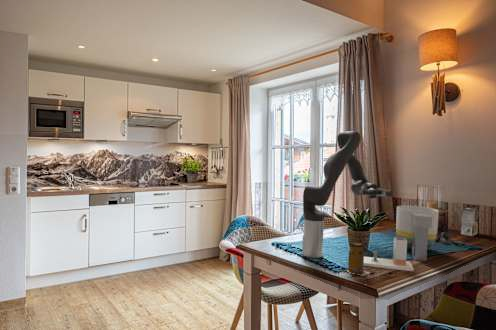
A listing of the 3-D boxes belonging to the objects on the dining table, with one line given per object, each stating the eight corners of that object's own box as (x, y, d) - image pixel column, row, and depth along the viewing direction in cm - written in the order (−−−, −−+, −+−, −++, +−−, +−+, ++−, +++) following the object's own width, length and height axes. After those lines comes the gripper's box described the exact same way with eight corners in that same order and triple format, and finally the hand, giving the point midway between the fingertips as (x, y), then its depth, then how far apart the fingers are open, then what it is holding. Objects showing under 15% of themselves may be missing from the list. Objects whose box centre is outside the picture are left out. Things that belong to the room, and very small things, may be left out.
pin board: (363, 265, 152) (364, 254, 152) (362, 258, 162) (363, 247, 162) (413, 271, 147) (414, 259, 147) (409, 264, 157) (409, 252, 156)
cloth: (415, 239, 203) (416, 229, 203) (438, 237, 210) (439, 227, 210) (450, 250, 183) (451, 239, 182) (474, 247, 189) (475, 236, 189)
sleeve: (394, 264, 151) (395, 239, 151) (392, 261, 156) (393, 237, 155) (405, 265, 150) (407, 240, 150) (403, 262, 155) (405, 238, 154)
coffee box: (466, 232, 224) (467, 207, 223) (477, 234, 219) (479, 209, 218) (460, 234, 218) (462, 208, 217) (472, 236, 213) (473, 210, 212)
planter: (432, 257, 167) (435, 213, 166) (390, 249, 179) (392, 208, 178) (439, 249, 182) (441, 208, 181) (400, 242, 194) (402, 204, 193)
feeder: (412, 260, 162) (415, 215, 161) (409, 254, 171) (411, 212, 170) (429, 262, 160) (431, 217, 159) (425, 256, 169) (427, 213, 168)
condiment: (351, 267, 149) (353, 240, 149) (370, 273, 143) (372, 244, 143) (343, 272, 144) (344, 243, 143) (363, 277, 138) (364, 248, 137)
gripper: (356, 182, 183) (366, 185, 167) (384, 183, 183) (396, 187, 167) (356, 196, 184) (366, 201, 167) (383, 197, 183) (395, 202, 167)
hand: (381, 194), depth 167 cm, fingers open, 8 cm apart
